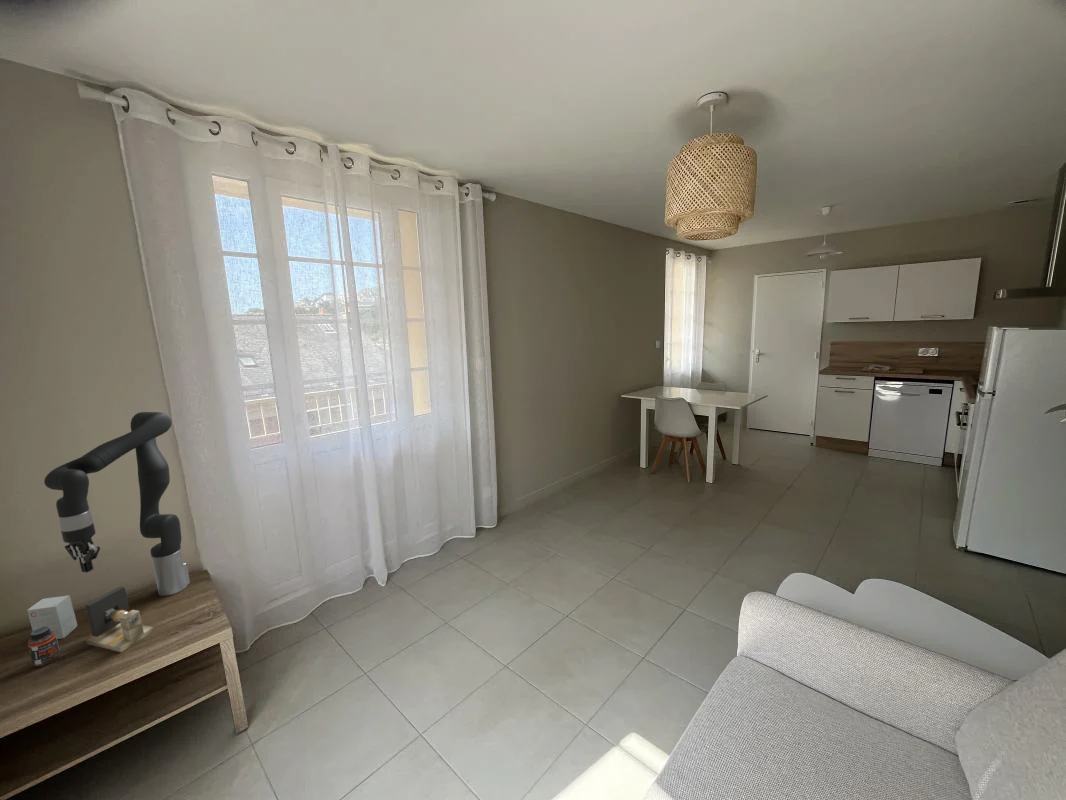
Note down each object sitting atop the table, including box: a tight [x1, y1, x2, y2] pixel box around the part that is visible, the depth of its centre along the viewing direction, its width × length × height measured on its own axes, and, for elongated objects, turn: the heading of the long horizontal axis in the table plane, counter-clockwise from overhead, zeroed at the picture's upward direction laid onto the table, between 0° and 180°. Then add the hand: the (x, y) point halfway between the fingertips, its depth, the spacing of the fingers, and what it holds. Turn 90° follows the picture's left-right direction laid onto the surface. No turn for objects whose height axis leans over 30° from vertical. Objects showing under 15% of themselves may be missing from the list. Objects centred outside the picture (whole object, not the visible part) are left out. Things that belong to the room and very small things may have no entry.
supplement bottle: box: [27, 626, 61, 667], centre depth 135 cm, size 6×6×11 cm
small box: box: [26, 595, 78, 640], centre depth 146 cm, size 8×6×13 cm
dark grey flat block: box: [85, 585, 131, 637], centre depth 145 cm, size 10×2×12 cm, turn 167°
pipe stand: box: [85, 608, 155, 653], centre depth 145 cm, size 10×16×11 cm, turn 77°
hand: (87, 570), depth 143 cm, fingers closed
